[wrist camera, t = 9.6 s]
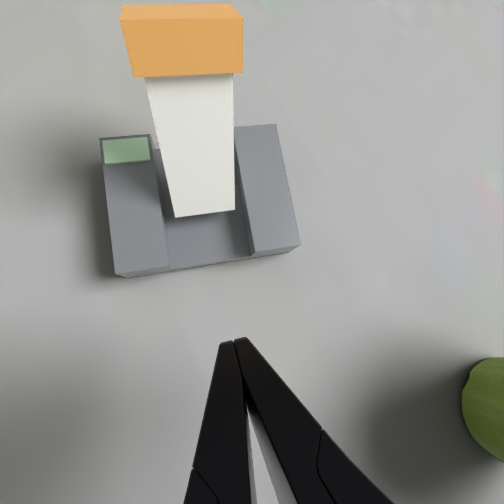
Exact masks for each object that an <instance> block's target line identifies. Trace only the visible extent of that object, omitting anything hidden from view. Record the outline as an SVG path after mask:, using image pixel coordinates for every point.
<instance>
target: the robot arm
mask: <svg viewBox="0 0 504 504" xmlns="http://www.w3.org/2000/svg"><path fill="white" fill-rule="evenodd" d="M246 405H247V406H246ZM247 409H248V412H247ZM248 413H249V416H250V419H251V422H252V425H253V428H254V431H255V434H256V437H257V440H258V443H259V446H260V448H261V451H262V454H263V457H264V460H265V463H266V466H267V469H268V472H269V475H270V478H271V481H272V483H273V486H274V489H275V492H276V495H277V498H278V501H279V504H394V503H393V502H392V501H391V500H390V499H389V498H388V497H387V496H386V495H385V494H384V493H383V492H382V491H381V490H380V489H379V488H378V487H377V486H376V485H375V484H374V483H373V482H372V481H371V480H370V479H368V477H367V476H366V475H365V474H364V473H363V472H362V471H361V470H360V469H359V468H358V467H357V466H356V465H355V464H354V463H353V462H352V461H351V460H350V459H349V458H348V457H347V456H346V454H345V453H344V452H343V451H342V450H341V449H340V448H339V447H338V445H337V444H336V443H335V442H334V441H333V440H332V438H331V437H330V436H329V435H328V434H327V432H326V431H325V430H324V429H322V427H321V425H320V424H319V423H318V422H317V421H316V419H315V418H314V417H313V416H312V415H311V413H310V412H309V411H308V410H307V409H306V407H305V406H304V405H303V404H302V403H301V401H300V400H299V399H298V398H297V397H296V395H295V394H294V393H293V392H292V391H291V390H290V388H289V387H288V386H287V385H286V384H285V382H284V381H283V380H282V379H281V378H280V376H279V375H278V374H277V373H276V372H275V370H274V369H273V368H272V367H271V366H270V364H269V363H268V362H267V361H266V360H265V358H264V357H263V356H262V355H261V354H260V352H259V351H258V350H257V349H256V348H255V346H254V345H253V344H252V343H251V342H250V340H249V339H248V338H246V337H243V338H239V339H235V340H234V342H233V341H231V340H230V341H226V342H222V343H220V345H219V349H218V353H217V358H216V362H215V367H214V371H213V376H212V380H211V385H210V389H209V394H208V398H207V403H206V407H205V412H204V416H203V421H202V425H201V430H200V434H199V439H198V443H197V448H196V452H195V457H194V461H193V466H192V467H193V469H192V470H191V474H190V478H189V483H188V487H187V491H186V495H185V499H184V503H183V504H257V499H256V489H255V479H254V469H253V459H252V449H251V439H250V429H249V420H248Z"/></svg>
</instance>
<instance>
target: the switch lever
mask: <svg viewBox="0 0 504 504" xmlns="http://www.w3.org/2000/svg"><path fill="white" fill-rule="evenodd" d="M120 23H121V27H122V31H123V35H124V39H125V44H126V48H127V52H128V56H129V60H130V64H131V68H132V72H133V76H134V78H141V77H144V78H145V83H146V88H147V92H148V97H149V101H150V106H151V110H152V115H153V119H154V124H155V128H156V133H157V137H158V142H159V146H160V151H161V155H162V160H163V165H164V169H165V174H166V178H167V183H168V187H169V192H170V196H171V201H172V205H173V210H174V214H175V218H176V217H184V216H192V215H199V214H207V213H214V212H222V211H230V210H235V183H234V125H233V73H242V72H243V17H242V16H241V15H240V14H239V13H238V12H237V11H236V10H235V8H234V7H233V6H232V5H231V4H171V5H123V8H122V12H121V16H120Z"/></svg>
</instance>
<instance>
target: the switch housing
mask: <svg viewBox="0 0 504 504" xmlns="http://www.w3.org/2000/svg"><path fill="white" fill-rule="evenodd" d="M99 139H100V147H101V156H102V165H103V173H104V182H105V191H106V199H107V208H108V217H109V225H110V234H111V243H112V251H113V260H114V269H115V274H117V275H120V276H123V277H126V278H132V277H138V276H144V275H151V274H157V273H163V272H169V271H175V270H181V269H188V268H194V267H200V266H206V265H212V264H218V263H225V262H231V261H237V260H243V259H249V258H256V257H262V256H268V255H274V254H280V253H286V252H290V251H292V250H293V249H295V248H296V247H298V246H300V245H301V242H300V237H299V232H298V227H297V223H296V218H295V213H294V208H293V204H292V199H291V194H290V189H289V184H288V180H287V175H286V170H285V165H284V161H283V156H282V151H281V146H280V142H279V137H278V132H277V127H276V124H268V125H256V126H243V127H234V183H235V210H230V211H222V212H214V213H207V214H199V215H192V216H184V217H176V218H175V214H174V210H173V205H172V201H171V196H170V192H169V187H168V183H167V178H166V174H165V169H164V165H163V160H162V155H161V151H160V149H155V147H154V144H153V141H152V138H151V135H150V134H146V135H133V136H121V137H109V138H99Z"/></svg>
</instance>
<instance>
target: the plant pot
mask: <svg viewBox="0 0 504 504" xmlns="http://www.w3.org/2000/svg"><path fill="white" fill-rule="evenodd" d="M462 413H463V417H464V420H465V423H466V425H467V428H468V430H469V431H470V433H471V435H472V436H473V438H474V439H475V440H476V441H477V442H478V443H479V444H480V445H481V446H482V447H483V448H484V449H485V450H487V451H488V452H489V453H491V454H492V455H493V456H495V457H496V458H497V459H499V460H500V461H502V462H503V463H504V358H489V359H486V360H484V361H482V362H480V363H479V364H477V365H476V366H475V367H474V368H473V369H472V370H471V371H470V376H469V379H468V382H467V384H466V385H465V387H464V388H463V390H462Z"/></svg>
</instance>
